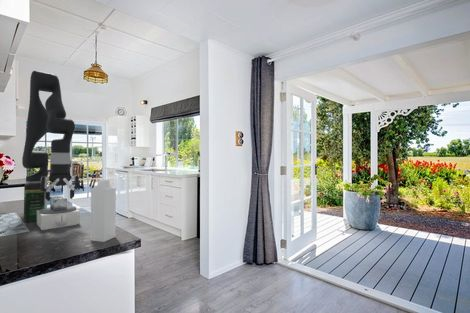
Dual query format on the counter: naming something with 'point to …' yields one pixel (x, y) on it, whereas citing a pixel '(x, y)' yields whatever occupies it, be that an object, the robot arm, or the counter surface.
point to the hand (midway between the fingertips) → (60, 199)
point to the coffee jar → (33, 201)
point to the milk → (103, 211)
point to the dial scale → (57, 218)
